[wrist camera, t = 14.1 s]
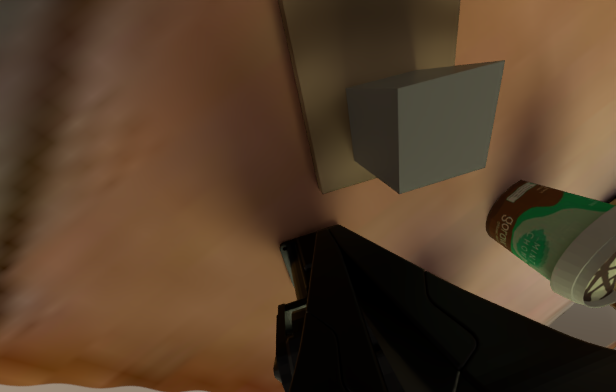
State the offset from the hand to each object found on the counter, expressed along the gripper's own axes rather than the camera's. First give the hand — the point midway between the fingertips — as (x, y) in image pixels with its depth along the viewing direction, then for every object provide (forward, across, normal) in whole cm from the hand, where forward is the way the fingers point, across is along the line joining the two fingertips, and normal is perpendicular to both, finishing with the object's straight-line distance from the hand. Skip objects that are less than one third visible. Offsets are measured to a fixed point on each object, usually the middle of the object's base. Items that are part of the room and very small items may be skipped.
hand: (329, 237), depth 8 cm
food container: (+12, -24, +16) cm, 31 cm away
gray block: (+10, -8, -1) cm, 13 cm away
